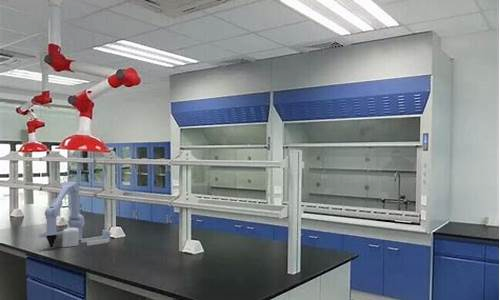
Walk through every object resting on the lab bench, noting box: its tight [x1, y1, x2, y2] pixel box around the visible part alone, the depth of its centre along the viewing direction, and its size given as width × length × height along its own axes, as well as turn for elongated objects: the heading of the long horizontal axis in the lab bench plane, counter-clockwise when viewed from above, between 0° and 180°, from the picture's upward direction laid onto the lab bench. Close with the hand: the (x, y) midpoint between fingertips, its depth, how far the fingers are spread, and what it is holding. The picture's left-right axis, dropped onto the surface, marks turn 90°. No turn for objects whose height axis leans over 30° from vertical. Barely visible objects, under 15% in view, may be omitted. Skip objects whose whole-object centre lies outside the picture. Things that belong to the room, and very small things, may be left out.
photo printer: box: [61, 227, 80, 248], centre depth 258 cm, size 10×4×12 cm, turn 123°
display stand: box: [80, 229, 112, 246], centre depth 269 cm, size 12×16×7 cm
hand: (51, 247), depth 249 cm, fingers closed
